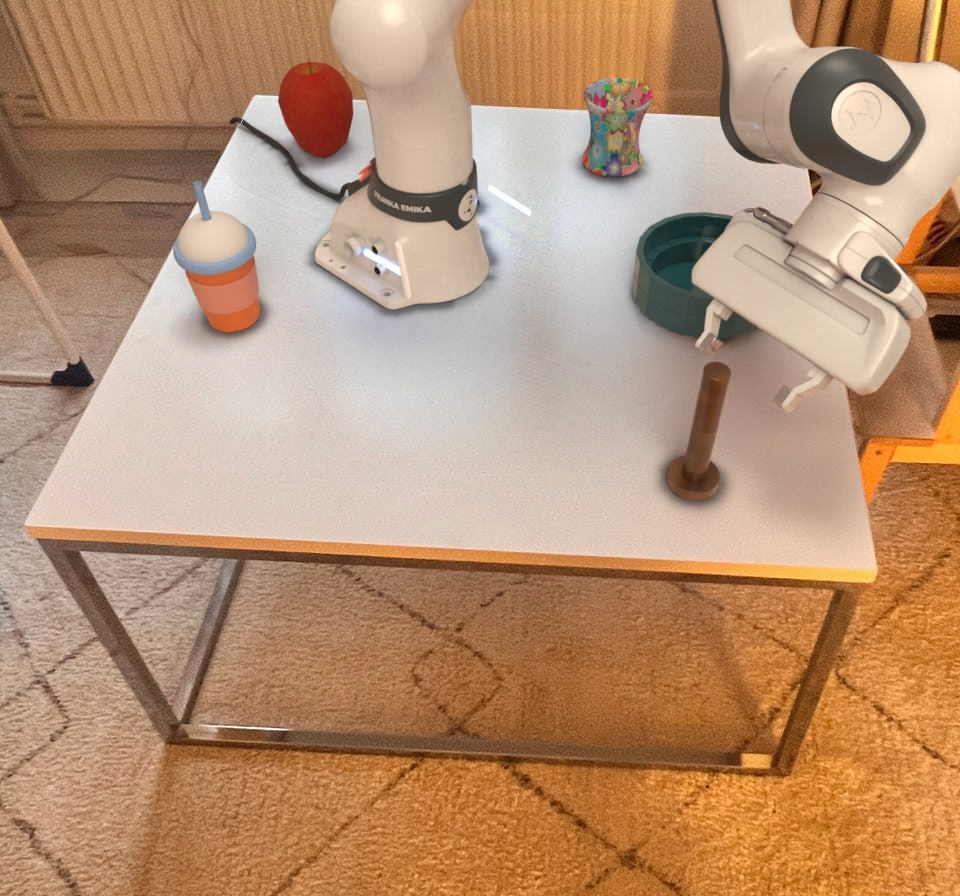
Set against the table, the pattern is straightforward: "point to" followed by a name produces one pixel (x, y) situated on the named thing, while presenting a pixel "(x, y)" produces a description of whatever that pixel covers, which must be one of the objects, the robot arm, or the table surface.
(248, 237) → the cup with straw
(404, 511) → the table surface
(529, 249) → the table surface
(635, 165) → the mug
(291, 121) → the apple
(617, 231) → the table surface
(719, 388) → the wooden peg stand
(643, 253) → the bowl
